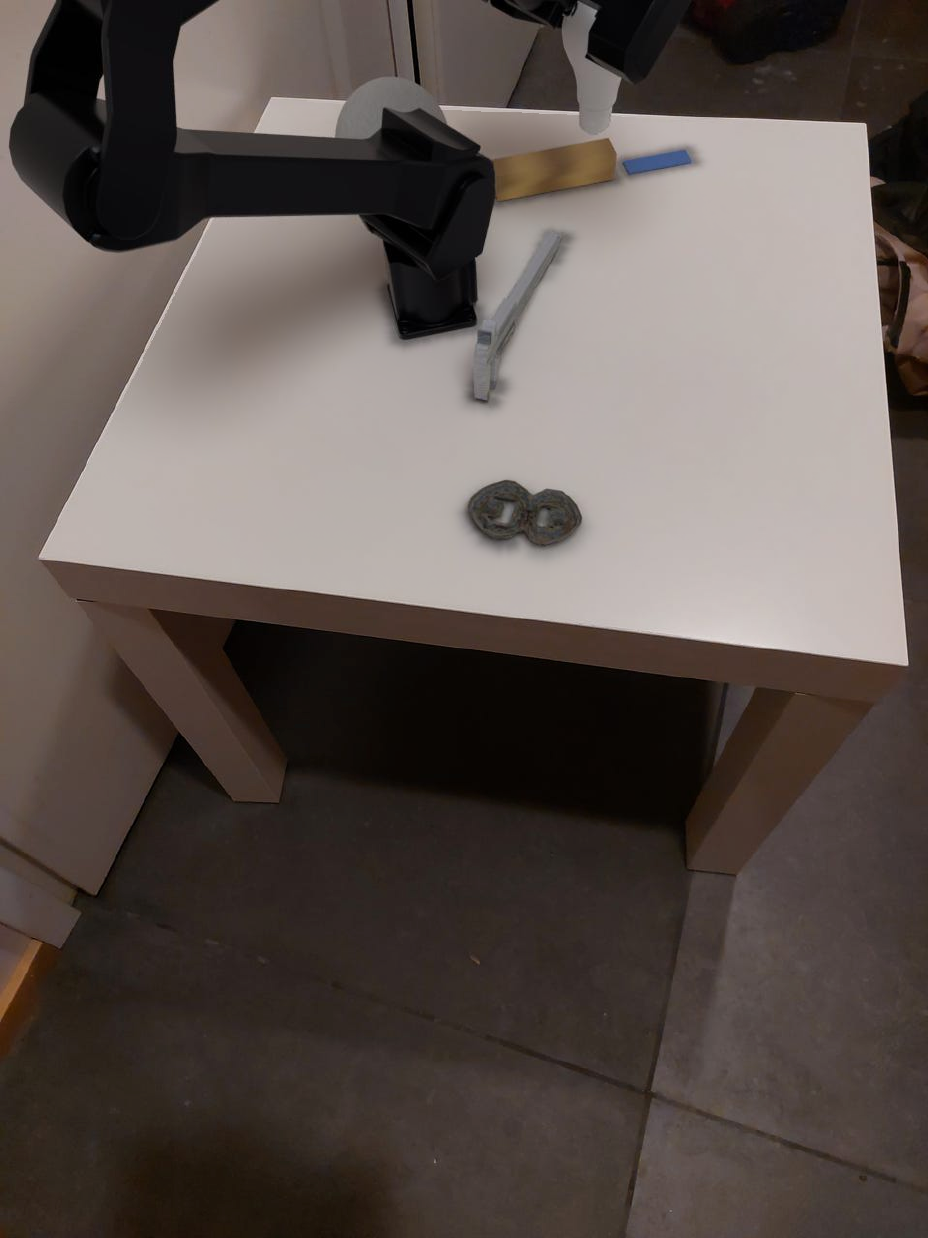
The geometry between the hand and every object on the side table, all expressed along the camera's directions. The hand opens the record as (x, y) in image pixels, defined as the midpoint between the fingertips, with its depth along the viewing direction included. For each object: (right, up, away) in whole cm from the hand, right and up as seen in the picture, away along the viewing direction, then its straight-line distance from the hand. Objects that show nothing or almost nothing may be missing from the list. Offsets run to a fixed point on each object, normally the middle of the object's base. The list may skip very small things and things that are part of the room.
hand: (613, 40), depth 65 cm
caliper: (-7, -19, +5) cm, 21 cm away
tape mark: (+6, -2, +14) cm, 15 cm away
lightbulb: (-1, -4, +6) cm, 7 cm away
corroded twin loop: (-7, -37, -5) cm, 38 cm away
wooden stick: (-3, -4, +13) cm, 14 cm away
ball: (-17, -5, +14) cm, 23 cm away
